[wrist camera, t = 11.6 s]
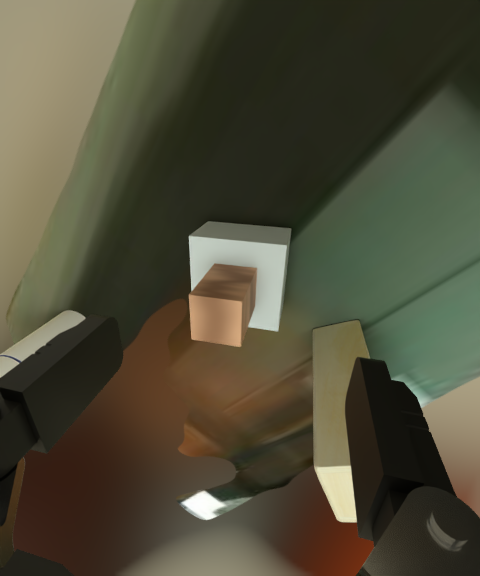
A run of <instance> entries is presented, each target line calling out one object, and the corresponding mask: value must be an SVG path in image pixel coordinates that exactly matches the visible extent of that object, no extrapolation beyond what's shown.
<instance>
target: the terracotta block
mask: <svg viewBox="0 0 480 576" xmlns="http://www.w3.org/2000/svg"><path fill="white" fill-rule="evenodd" d="M256 282H257V268H253V267H243V266H234V265H225V264H215V263H214V265H213V266H212V267H211V268H210V270H209V271H208V272H207V273H206V274H205V276H204V277H203V278H202V279H201V281H200V282H199V283H198V284H197V285H196V287H195V288H194V289H193V290H192V292H191V293H190V294H189V304H190V321H191V338H192V339H193V340H200V341H206V342H212V343H219V344H225V345H231V346H237V347H241V345H242V342H243V339H244V336H245V334H246V331H247V328H248V325H249V322H250V320H251V317H252V314H253V311H254V308H255V300H256Z"/></svg>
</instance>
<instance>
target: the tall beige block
mask: <svg viewBox="0 0 480 576" xmlns="http://www.w3.org/2000/svg"><path fill="white" fill-rule="evenodd" d="M357 357H363V358H369V359H370V356H369V352H368V349H367V346H366V342H365V339H364V335H363V332H362V328H361V325H360V321H359V320H354V321H348V322H343V323H339V324H334V325H329V326H325V327H320V328H316V329H313V429H314V468H315V471H316V473H317V476H318V479H319V481H320V483H321V485H322V487H323V489H324V492H325V494H326V496H327V498H328V500H329V503H330V505H331V507H332V509H333V512H334V514H335V516H336V518H337V520H338V521H340V522H357V518H356V509H355V500H354V491H353V482H352V473H351V464H350V455H349V446H348V437H347V428H346V419H345V400H346V394H347V390H348V386H349V382H350V378H351V374H352V370H353V367H354V363H355V360H356V358H357Z"/></svg>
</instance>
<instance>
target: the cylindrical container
mask: <svg viewBox="0 0 480 576" xmlns="http://www.w3.org/2000/svg"><path fill="white" fill-rule="evenodd" d="M84 319H86V318H85V317H84V316H83V315H81V314H79V313H78V312H75V311H71V310H67V311H64V312H62V313H60V314H59V315H57V316H56V317H54V318H53V319H51V320H50V321H49V322H47V323H46V324H44V325H43V326H41V327H40V328H38V329H37V330H35V331H34V332H32V333H31V334H29V335H28V336H26V337H25V338H24V339H22V340H21V341H19V342H18V343H16V344H15V345H13V346H12V347H10V348H9V349H7V350H6V351H4V352H3V353H1V354H0V378H1V377H2V376H3V375H5V374H6V373H7V372H9V371H10V370H11V369H13V368H14V367H15V366H17V365H18V364H19V363H21V362H22V361H23V360H25V359H26V358H27V357H29V356H30V355H31V354H35V351H37V350H38V349H39V348H41V347H42V346H43V345H44V346H45V345H46V343H47V342H49V341H50V340H51V339H53V338H54V337H55V336H56V335H58V334H59V333H61V332H64V331H66V330H68V329H70V328H72V327H74V326H76V325H78V324H79V323H80V322H82V321H83V320H84Z"/></svg>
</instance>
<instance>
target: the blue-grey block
mask: <svg viewBox="0 0 480 576" xmlns="http://www.w3.org/2000/svg"><path fill="white" fill-rule="evenodd" d="M290 237H291V228H281V227H269V226H258V225H246V224H234V223H223V222H211V221H208V222H207V223H205V224H204V225H203V226H201V227H200V228H199V229H197V230H196V231H195V232H193V233H192V234H191V235H189V247H190V268H191V288H192V290H193V289H194V288H195V287H196V285H197V284H198V283H199V282H200V281H201V279H202V278H203V277H204V276H205V274H206V273H207V272H208V271H209V270H210V268H211V267H212V266H213V265H214V263H215V264H225V265H234V266H243V267H253V268H257V282H256V300H255V308H254V311H253V314H252V317H251V320H250V322H249V325H248V327H252V328H259V329H265V330H272V331H278V329H279V324H280V318H281V313H282V308H283V302H284V292H285V283H286V274H287V265H288V256H289V246H290Z"/></svg>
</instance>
